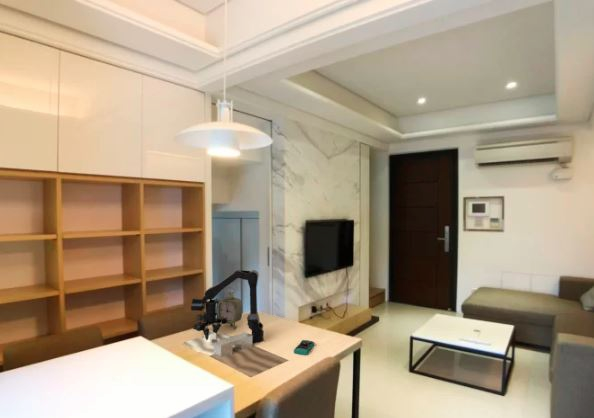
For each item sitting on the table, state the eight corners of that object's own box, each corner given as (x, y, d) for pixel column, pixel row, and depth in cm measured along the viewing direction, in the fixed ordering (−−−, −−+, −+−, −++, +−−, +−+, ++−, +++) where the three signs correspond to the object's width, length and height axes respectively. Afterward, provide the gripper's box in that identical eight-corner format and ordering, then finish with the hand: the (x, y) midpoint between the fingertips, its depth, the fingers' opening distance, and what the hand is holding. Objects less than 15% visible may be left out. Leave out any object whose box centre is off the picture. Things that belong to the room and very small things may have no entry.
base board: (219, 333, 208) (219, 331, 208) (288, 362, 170) (288, 360, 170) (183, 344, 191) (183, 342, 191) (250, 379, 152) (250, 377, 152)
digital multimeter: (314, 346, 192) (314, 340, 192) (306, 356, 178) (307, 350, 178) (302, 344, 194) (302, 338, 194) (293, 354, 180) (293, 348, 180)
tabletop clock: (216, 327, 218) (216, 287, 218) (224, 323, 227) (224, 284, 227) (235, 330, 213) (236, 289, 213) (243, 326, 221) (244, 286, 221)
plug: (208, 337, 199) (208, 330, 199) (228, 346, 186) (229, 339, 186) (202, 339, 196) (202, 331, 196) (222, 348, 183) (222, 341, 183)
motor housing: (245, 344, 189) (245, 332, 189) (252, 347, 185) (252, 334, 185) (213, 355, 174) (213, 342, 174) (220, 358, 170) (220, 345, 170)
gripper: (216, 304, 206) (216, 331, 206) (187, 311, 193) (187, 339, 192) (227, 308, 199) (227, 336, 199) (198, 315, 185) (198, 345, 185)
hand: (210, 338), depth 194 cm, fingers closed on plug, 4 cm apart
